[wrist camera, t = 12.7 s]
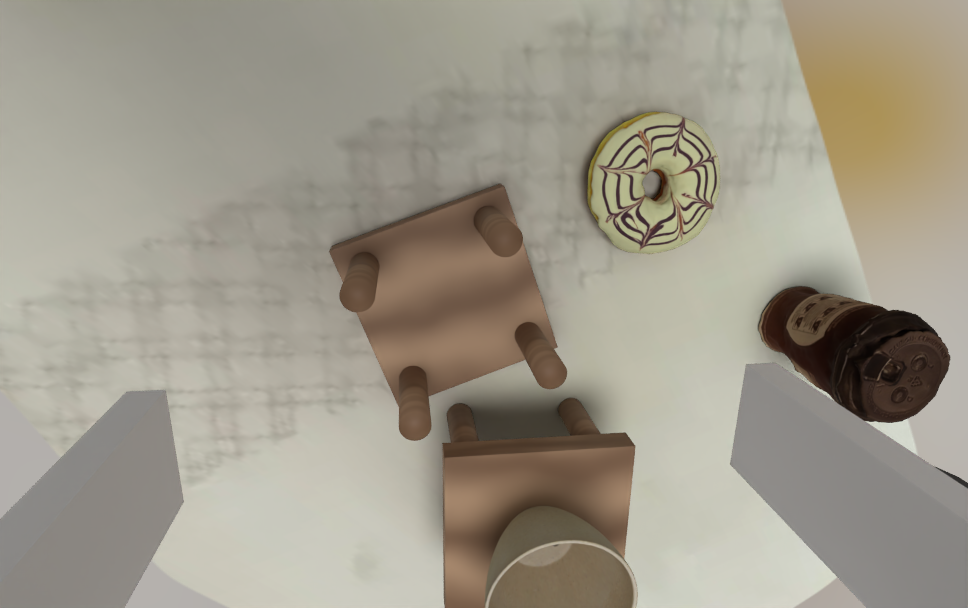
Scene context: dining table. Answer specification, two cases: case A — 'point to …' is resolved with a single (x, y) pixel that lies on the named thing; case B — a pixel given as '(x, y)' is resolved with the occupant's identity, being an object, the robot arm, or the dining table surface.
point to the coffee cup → (858, 352)
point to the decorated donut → (685, 185)
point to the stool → (526, 490)
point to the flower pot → (557, 565)
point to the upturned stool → (447, 301)
